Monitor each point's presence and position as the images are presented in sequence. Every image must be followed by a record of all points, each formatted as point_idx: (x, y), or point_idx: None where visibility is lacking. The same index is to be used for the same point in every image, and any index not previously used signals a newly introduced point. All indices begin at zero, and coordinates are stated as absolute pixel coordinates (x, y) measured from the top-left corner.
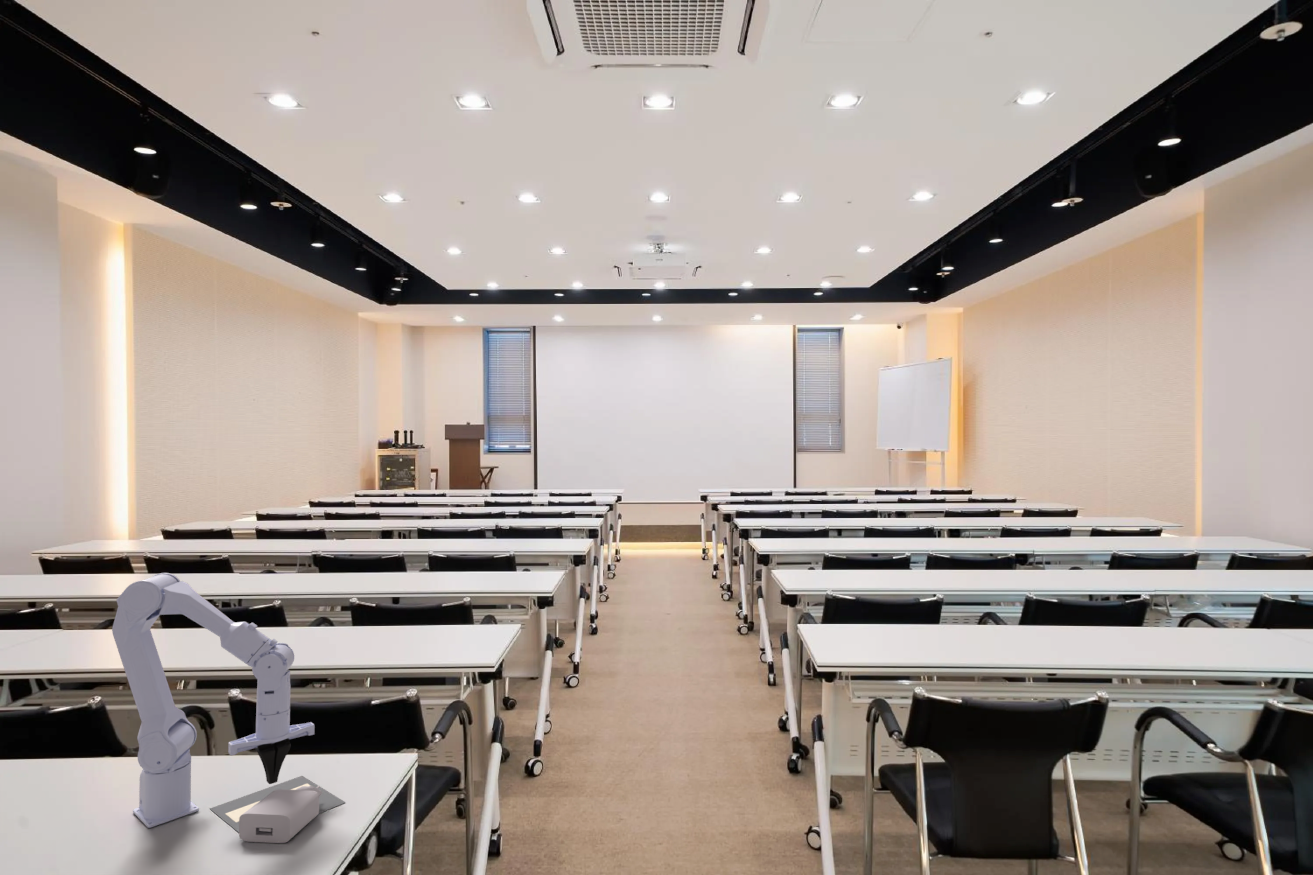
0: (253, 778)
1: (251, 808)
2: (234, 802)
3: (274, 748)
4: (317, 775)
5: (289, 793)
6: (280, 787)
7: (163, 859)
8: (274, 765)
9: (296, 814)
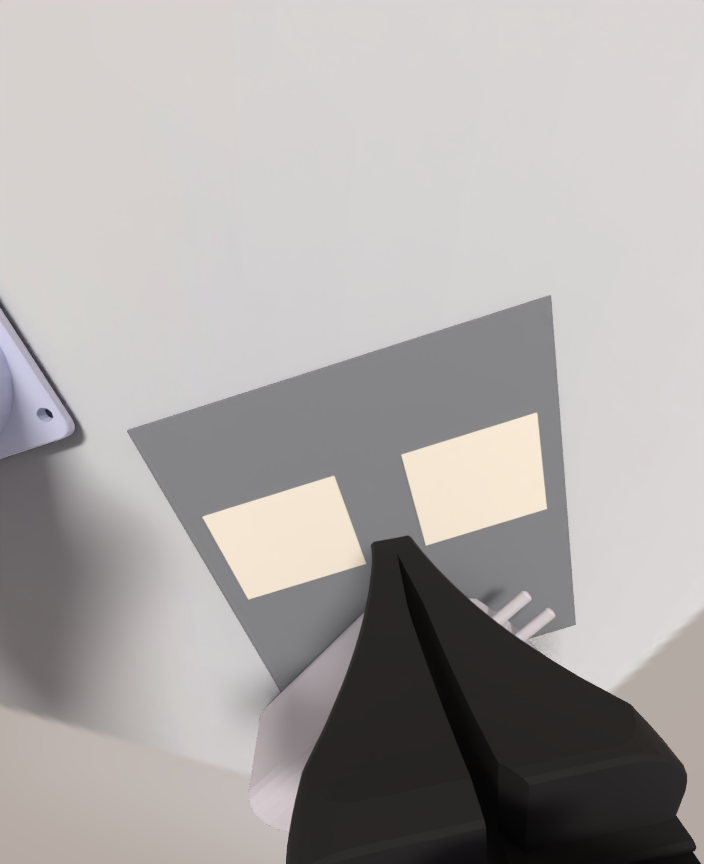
0: (323, 133)
1: (287, 797)
2: (232, 429)
3: (488, 851)
4: (603, 337)
5: None
6: (431, 384)
7: (58, 700)
8: (430, 671)
9: None
